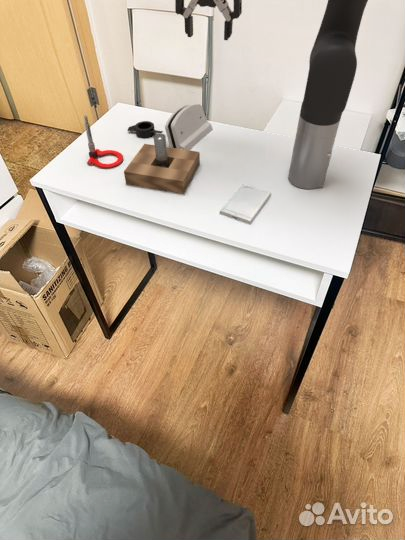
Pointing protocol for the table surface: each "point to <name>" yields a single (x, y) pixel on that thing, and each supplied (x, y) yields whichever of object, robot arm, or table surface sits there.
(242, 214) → the hard drive
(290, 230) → the table surface
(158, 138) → the pin
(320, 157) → the robot arm
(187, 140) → the grey rounded slab
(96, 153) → the tow hook
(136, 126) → the black rounded piece
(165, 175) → the wooden square frame
